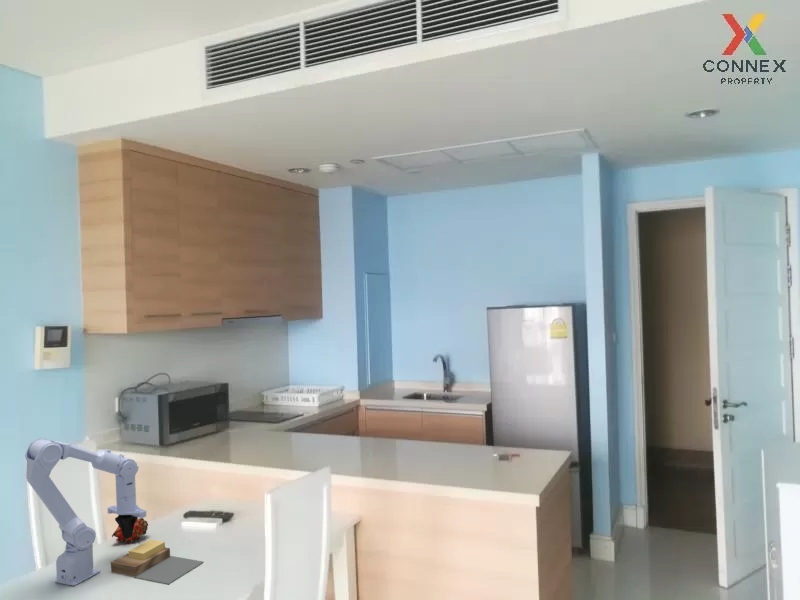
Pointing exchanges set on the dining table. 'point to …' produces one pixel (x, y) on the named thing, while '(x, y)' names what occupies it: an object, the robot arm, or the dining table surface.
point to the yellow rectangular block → (146, 549)
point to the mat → (169, 570)
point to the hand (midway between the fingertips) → (127, 537)
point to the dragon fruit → (138, 530)
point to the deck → (137, 563)
